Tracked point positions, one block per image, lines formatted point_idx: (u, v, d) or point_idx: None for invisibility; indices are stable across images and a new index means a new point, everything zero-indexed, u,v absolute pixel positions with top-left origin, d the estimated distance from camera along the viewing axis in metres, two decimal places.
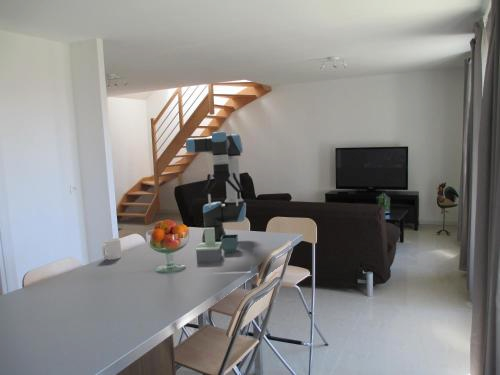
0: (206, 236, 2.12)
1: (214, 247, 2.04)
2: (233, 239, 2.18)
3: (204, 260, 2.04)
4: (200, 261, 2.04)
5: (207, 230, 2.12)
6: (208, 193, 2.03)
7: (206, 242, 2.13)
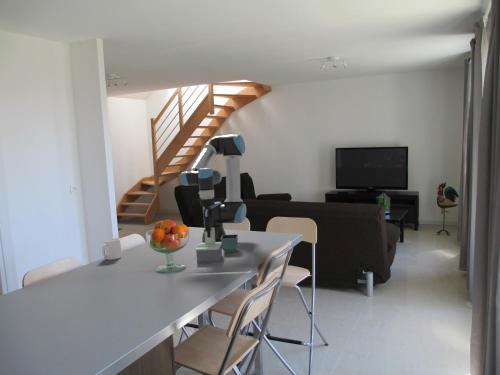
0: (206, 236, 2.12)
1: (214, 247, 2.04)
2: (233, 239, 2.18)
3: (204, 260, 2.04)
4: (200, 261, 2.04)
5: None
6: None
7: (206, 242, 2.13)
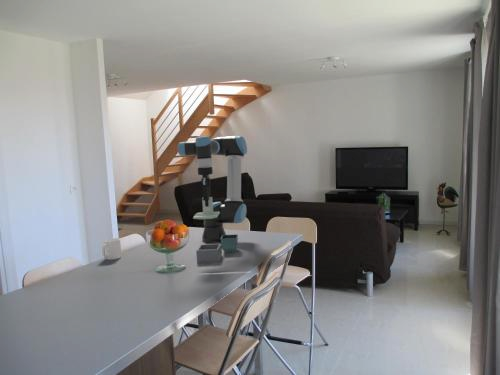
0: (204, 205, 2.11)
1: (212, 215, 2.03)
2: (233, 239, 2.18)
3: (204, 260, 2.04)
4: (200, 261, 2.04)
5: None
6: None
7: (204, 211, 2.11)
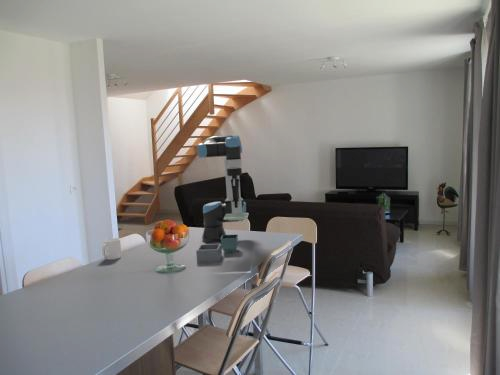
0: (233, 206, 2.10)
1: (242, 216, 2.02)
2: (233, 239, 2.18)
3: (204, 260, 2.04)
4: (200, 261, 2.04)
5: None
6: None
7: (233, 213, 2.10)
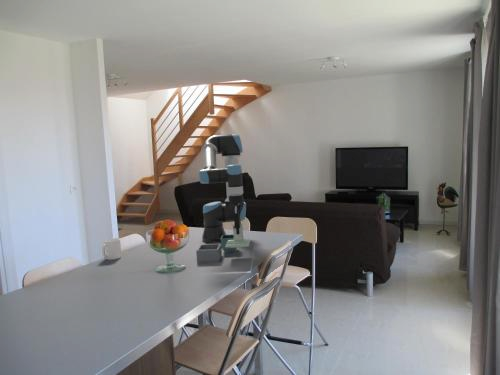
0: None
1: (244, 244, 2.03)
2: (233, 239, 2.18)
3: (204, 260, 2.04)
4: (200, 261, 2.04)
5: None
6: None
7: (235, 239, 2.12)
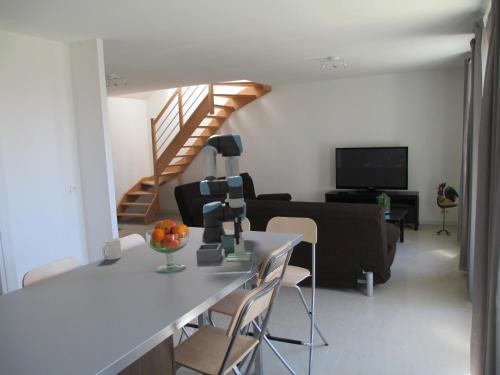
0: None
1: (245, 258, 2.04)
2: None
3: (204, 260, 2.04)
4: (200, 261, 2.04)
5: None
6: (239, 231, 2.19)
7: (236, 252, 2.13)
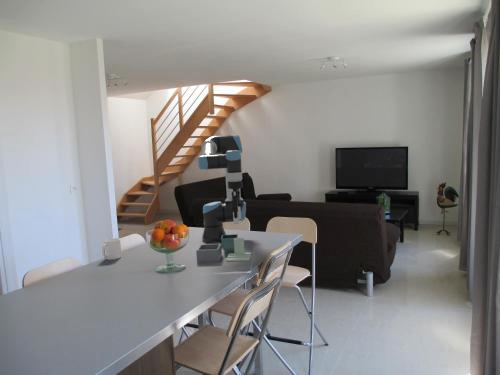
0: (236, 246, 2.12)
1: (245, 258, 2.04)
2: None
3: (204, 260, 2.04)
4: (200, 261, 2.04)
5: (237, 240, 2.12)
6: (237, 206, 2.18)
7: (236, 252, 2.13)
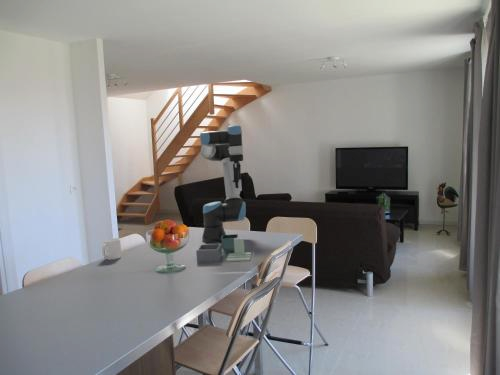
0: (236, 246, 2.12)
1: (245, 258, 2.04)
2: None
3: (204, 260, 2.04)
4: (200, 261, 2.04)
5: (237, 240, 2.12)
6: (238, 179, 2.33)
7: (236, 252, 2.13)
